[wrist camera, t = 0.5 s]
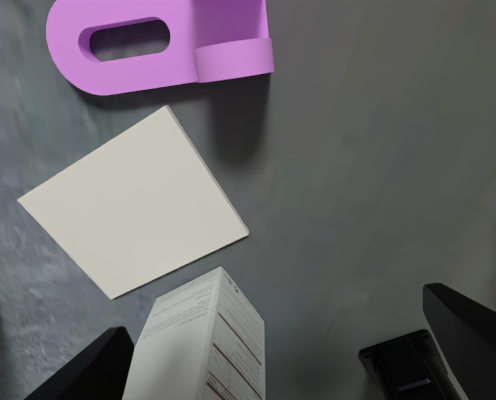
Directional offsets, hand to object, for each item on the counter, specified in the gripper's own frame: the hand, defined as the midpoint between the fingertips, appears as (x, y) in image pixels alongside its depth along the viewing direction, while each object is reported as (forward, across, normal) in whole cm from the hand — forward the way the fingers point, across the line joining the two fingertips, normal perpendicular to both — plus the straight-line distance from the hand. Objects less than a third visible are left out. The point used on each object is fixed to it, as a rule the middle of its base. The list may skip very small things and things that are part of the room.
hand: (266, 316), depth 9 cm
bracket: (+14, +5, -10) cm, 18 cm away
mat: (+14, +10, +1) cm, 17 cm away
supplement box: (+14, +7, +12) cm, 20 cm away
